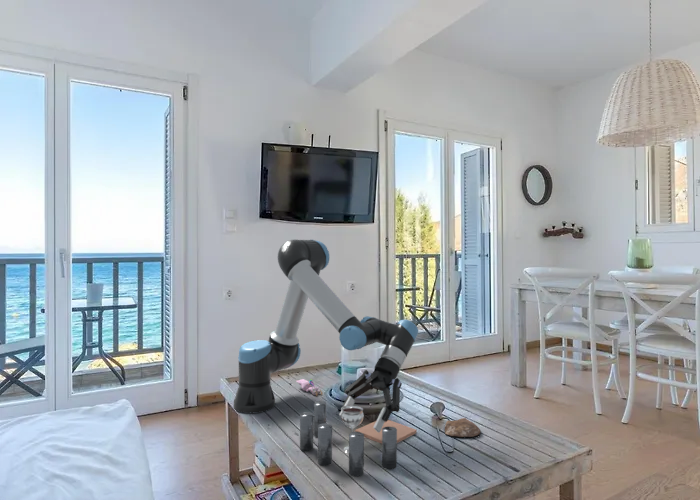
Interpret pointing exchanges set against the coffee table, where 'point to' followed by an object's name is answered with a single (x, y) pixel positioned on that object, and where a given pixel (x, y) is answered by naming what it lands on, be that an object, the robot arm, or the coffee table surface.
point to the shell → (461, 429)
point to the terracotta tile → (372, 434)
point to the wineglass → (352, 417)
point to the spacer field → (318, 428)
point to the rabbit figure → (309, 386)
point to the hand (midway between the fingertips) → (358, 423)
